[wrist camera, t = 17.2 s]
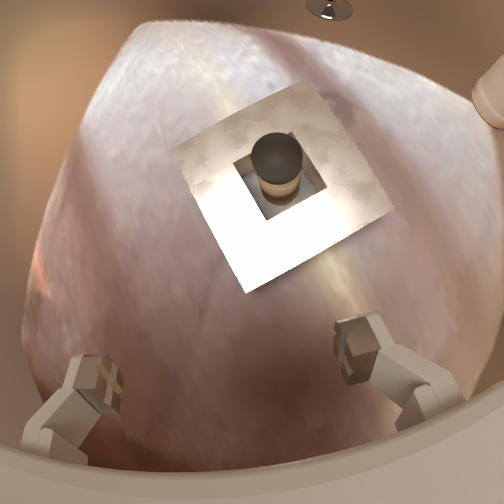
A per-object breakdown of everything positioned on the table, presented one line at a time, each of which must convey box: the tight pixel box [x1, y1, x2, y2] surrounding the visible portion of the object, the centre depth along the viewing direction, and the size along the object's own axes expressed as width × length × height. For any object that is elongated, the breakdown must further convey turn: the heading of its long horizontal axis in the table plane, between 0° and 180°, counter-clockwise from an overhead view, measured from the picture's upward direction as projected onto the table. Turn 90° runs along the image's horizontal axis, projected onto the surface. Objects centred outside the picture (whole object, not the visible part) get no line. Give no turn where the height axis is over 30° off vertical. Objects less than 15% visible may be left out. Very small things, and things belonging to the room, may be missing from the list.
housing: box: [171, 79, 394, 293], centre depth 30 cm, size 16×16×5 cm
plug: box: [251, 132, 303, 205], centre depth 27 cm, size 4×4×10 cm
